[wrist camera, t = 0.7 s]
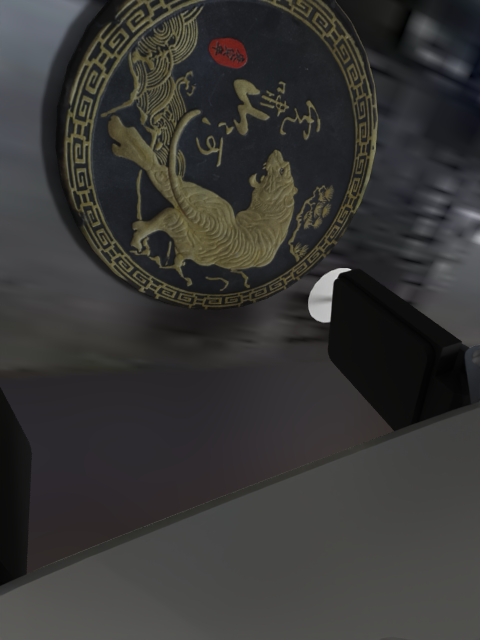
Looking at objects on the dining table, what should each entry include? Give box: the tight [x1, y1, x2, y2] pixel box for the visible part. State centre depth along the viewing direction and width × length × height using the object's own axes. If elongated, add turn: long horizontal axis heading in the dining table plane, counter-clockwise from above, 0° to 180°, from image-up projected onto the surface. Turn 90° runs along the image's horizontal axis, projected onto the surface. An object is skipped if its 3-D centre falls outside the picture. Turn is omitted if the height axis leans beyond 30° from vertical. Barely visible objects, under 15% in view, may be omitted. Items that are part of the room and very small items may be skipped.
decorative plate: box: [56, 0, 378, 310], centre depth 38 cm, size 30×2×30 cm
